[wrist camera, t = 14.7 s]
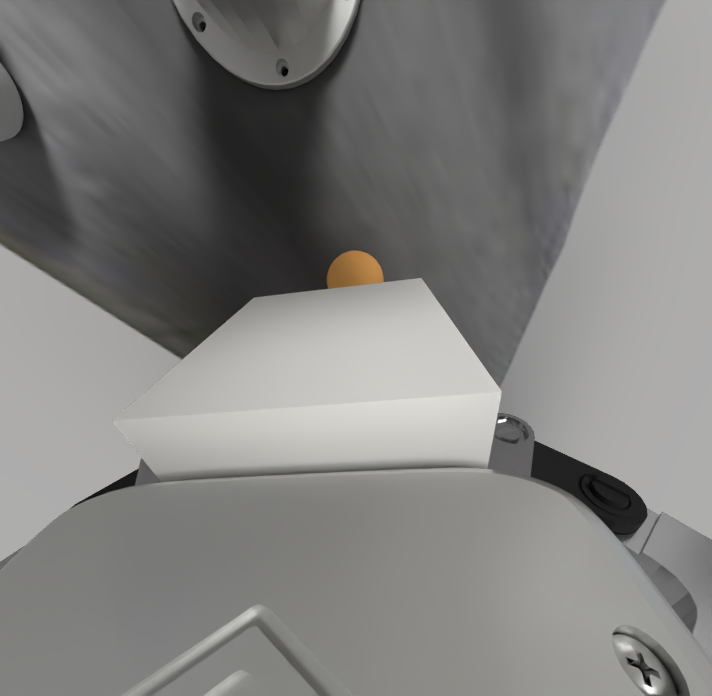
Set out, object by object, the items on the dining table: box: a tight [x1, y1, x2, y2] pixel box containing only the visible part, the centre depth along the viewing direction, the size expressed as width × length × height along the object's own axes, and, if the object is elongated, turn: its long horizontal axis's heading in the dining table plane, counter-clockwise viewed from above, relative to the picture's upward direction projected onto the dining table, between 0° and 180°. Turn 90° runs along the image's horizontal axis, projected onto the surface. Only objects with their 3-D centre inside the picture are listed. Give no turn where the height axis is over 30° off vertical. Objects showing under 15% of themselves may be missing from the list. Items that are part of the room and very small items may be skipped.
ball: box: [327, 251, 383, 289], centre depth 23 cm, size 5×5×5 cm
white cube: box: [112, 278, 502, 482], centre depth 10 cm, size 8×8×8 cm
